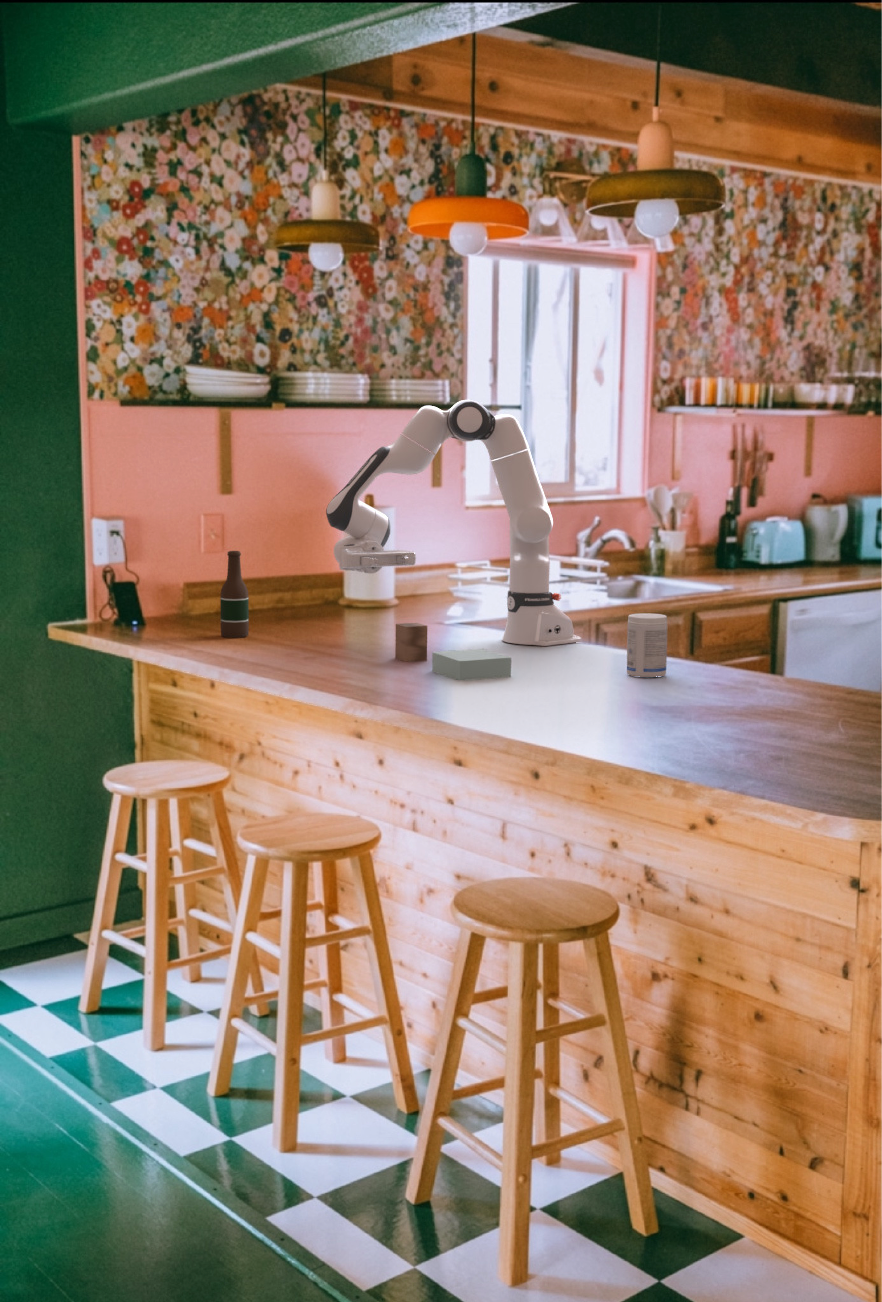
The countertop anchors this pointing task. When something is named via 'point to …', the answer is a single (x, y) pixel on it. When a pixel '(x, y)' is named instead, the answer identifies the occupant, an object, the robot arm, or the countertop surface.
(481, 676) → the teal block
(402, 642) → the walnut box
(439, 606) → the countertop surface
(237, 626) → the beer bottle
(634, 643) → the supplement tub
